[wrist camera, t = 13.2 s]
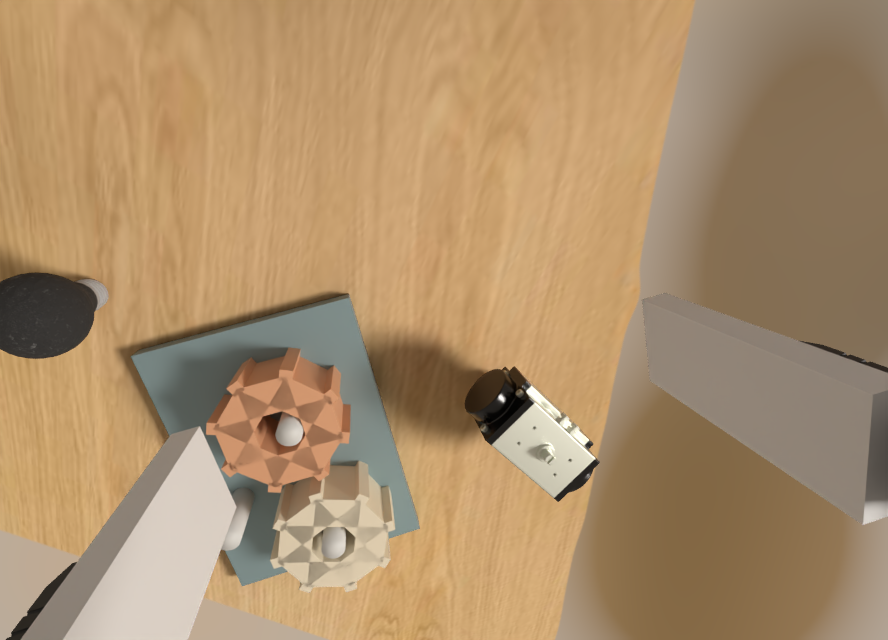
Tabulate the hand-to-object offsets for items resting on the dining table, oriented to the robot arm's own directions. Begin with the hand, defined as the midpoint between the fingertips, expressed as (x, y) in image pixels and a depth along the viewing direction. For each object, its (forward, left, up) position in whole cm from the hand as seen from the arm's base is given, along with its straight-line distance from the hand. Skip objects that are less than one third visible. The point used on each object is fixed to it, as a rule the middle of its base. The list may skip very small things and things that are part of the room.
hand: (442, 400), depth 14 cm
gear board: (+15, -13, -29) cm, 35 cm away
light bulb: (-3, -23, -29) cm, 37 cm away
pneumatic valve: (+16, +8, -29) cm, 34 cm away
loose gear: (+10, -12, -27) cm, 31 cm away
